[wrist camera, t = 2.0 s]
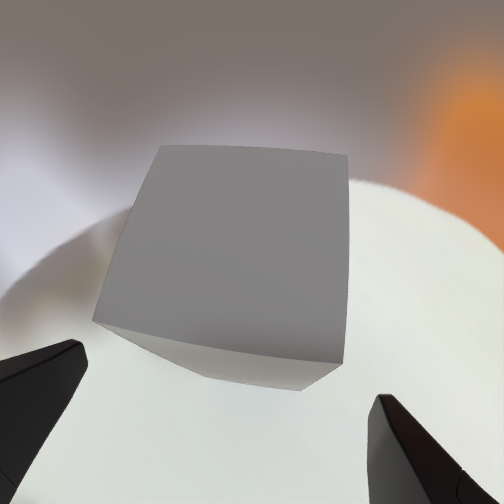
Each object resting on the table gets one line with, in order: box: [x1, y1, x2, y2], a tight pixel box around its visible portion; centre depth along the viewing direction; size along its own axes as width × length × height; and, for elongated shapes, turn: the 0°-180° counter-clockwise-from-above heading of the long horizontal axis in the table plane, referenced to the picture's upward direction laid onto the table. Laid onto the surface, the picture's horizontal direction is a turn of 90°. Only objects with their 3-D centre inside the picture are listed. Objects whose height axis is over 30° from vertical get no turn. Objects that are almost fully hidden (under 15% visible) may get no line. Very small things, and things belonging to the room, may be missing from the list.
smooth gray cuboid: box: [92, 145, 349, 391], centre depth 14 cm, size 6×6×13 cm
